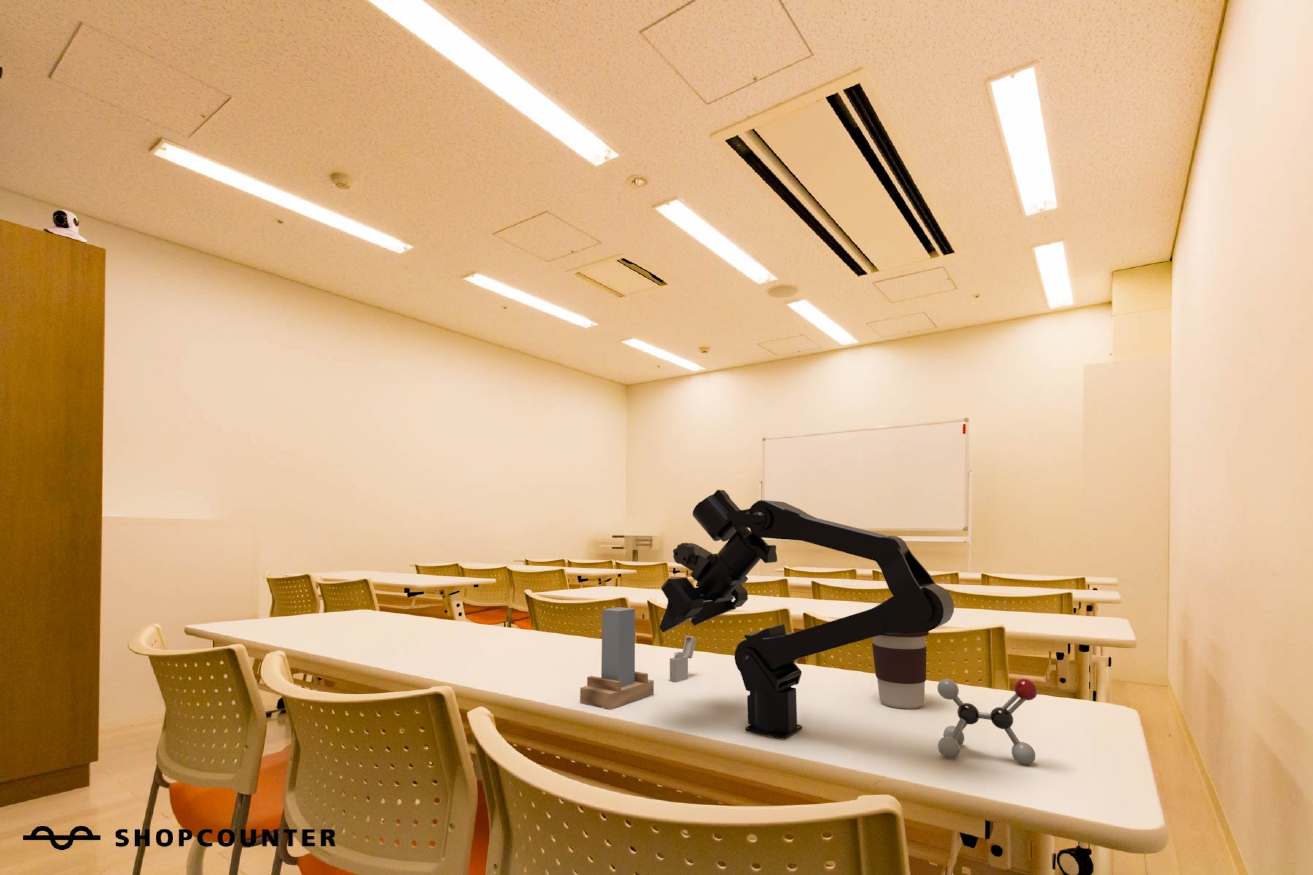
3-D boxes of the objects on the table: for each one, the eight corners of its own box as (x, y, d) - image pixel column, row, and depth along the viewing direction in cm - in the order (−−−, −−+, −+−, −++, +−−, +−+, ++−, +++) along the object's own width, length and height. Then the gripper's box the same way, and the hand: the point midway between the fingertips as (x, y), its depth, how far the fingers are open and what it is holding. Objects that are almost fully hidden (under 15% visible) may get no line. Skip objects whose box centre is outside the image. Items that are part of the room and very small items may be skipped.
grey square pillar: (634, 683, 114) (635, 608, 116) (618, 688, 110) (619, 611, 112) (617, 679, 116) (618, 607, 118) (601, 684, 113) (602, 609, 114)
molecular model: (945, 741, 90) (940, 663, 92) (1043, 757, 84) (1036, 673, 86) (937, 759, 83) (932, 674, 85) (1043, 777, 77) (1036, 686, 79)
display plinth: (653, 694, 116) (653, 671, 116) (610, 709, 106) (610, 684, 107) (624, 688, 120) (624, 666, 120) (580, 702, 110) (580, 678, 111)
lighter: (676, 682, 125) (676, 640, 126) (669, 680, 126) (669, 639, 127) (697, 675, 131) (696, 635, 132) (690, 674, 132) (689, 634, 133)
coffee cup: (946, 708, 107) (940, 616, 109) (899, 714, 103) (895, 619, 105) (903, 694, 116) (899, 610, 118) (859, 699, 112) (855, 612, 115)
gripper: (731, 526, 114) (681, 586, 119) (671, 526, 99) (616, 594, 104) (772, 573, 108) (717, 633, 113) (715, 580, 93) (654, 649, 98)
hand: (677, 626), depth 107 cm, fingers open, 9 cm apart
